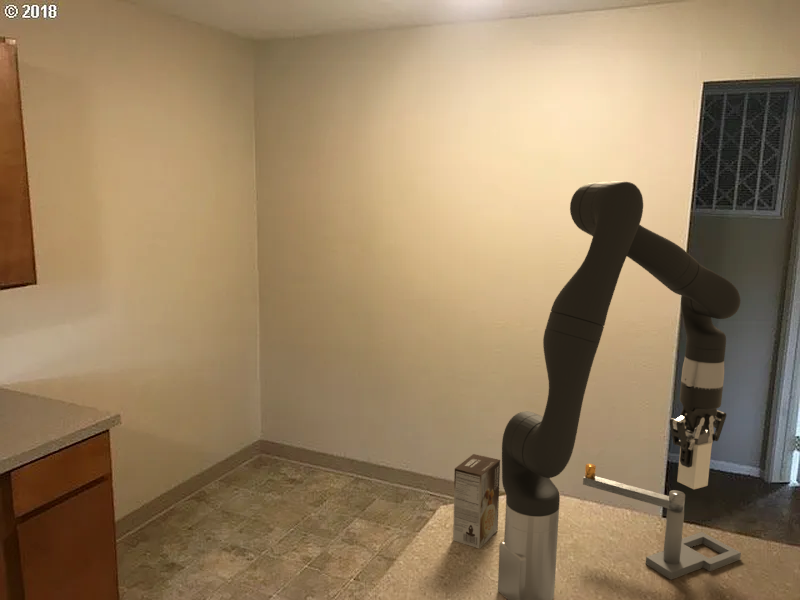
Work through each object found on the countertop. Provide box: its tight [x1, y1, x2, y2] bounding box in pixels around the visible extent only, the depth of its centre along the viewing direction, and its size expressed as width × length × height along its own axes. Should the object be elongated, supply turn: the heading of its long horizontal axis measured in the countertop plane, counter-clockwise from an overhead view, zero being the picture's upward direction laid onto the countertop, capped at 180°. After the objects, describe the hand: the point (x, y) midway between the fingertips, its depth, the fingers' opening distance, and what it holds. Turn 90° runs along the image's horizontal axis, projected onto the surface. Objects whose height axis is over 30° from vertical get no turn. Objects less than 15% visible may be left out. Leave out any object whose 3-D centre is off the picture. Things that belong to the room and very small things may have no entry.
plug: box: [676, 429, 713, 490], centre depth 136 cm, size 4×4×11 cm
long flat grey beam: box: [582, 463, 686, 512], centre depth 134 cm, size 19×3×4 cm, turn 54°
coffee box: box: [452, 453, 501, 550], centre depth 141 cm, size 9×6×16 cm
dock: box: [645, 508, 742, 580], centre depth 133 cm, size 18×9×12 cm, turn 118°
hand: (694, 463), depth 136 cm, fingers closed on plug, 4 cm apart
